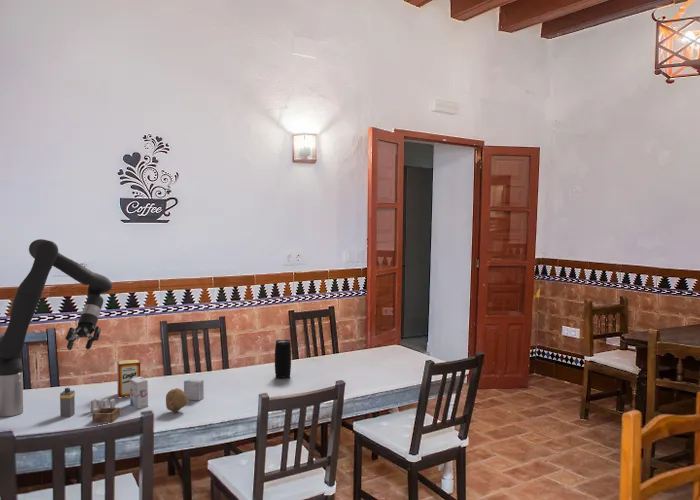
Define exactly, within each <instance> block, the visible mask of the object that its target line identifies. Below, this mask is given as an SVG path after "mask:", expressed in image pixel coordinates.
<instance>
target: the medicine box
mask: <svg viewBox="0 0 700 500" xmlns="http://www.w3.org/2000/svg"><path fill="white" fill-rule="evenodd" d="M204 384H205V383H204V379H198V378H197V379H196V378H195V379H194V378H187V379H185V380H184V381H183V391H184V393H185V394H186V396H187V398H188V401H201V400H203V399H204V398H205V396H204V395H205V393H204V392H205V391H204V390H205V389H204Z"/></svg>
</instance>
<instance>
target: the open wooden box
mask: <svg viewBox="0 0 700 500" xmlns="http://www.w3.org/2000/svg"><path fill="white" fill-rule="evenodd" d="M119 417H121V407H115V408H110V407H108V408H100V409H98V410H97V411H96V412H94V413H92V424H93V423H94V424H99V423H100V424H107V423H108V424H109V423H110V424H111V423H112V422H113V423H114V422H116V421H117V420H118V419H119ZM113 423H112V424H113Z"/></svg>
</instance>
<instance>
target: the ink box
mask: <svg viewBox="0 0 700 500" xmlns="http://www.w3.org/2000/svg"><path fill="white" fill-rule="evenodd" d="M148 386H149V385H148V379H146V378H144V377H142V376H140V377H136V378H131V379H130V397H129V399H130V400H129V404H130V405H131V406H132V407H135V408H136V409H142V408H146V407H149V389H148Z"/></svg>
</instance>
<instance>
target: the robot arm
mask: <svg viewBox="0 0 700 500" xmlns="http://www.w3.org/2000/svg"><path fill="white" fill-rule="evenodd" d="M28 252H29V255H30V256H31V257H32V258H33V259H34V260H33V263H32V266H31V269H30V271H29V273H27V275H26V277H25V278H24V279H23V280H22V281H21V283H20V284H19V286H18V288H17V290H16V292H15V295H14V297H13V301H12V304H11V309H10V315H9V316H10V317H9V321H8V325H7V328H6V330H5V332H4V333H3V335H1V337H0V417H2V418H4V417H5V418H6V417H7V418H8V417H14V416H17V415H20V414H22V413H24V377H23V376H24V375H23V373H24V370H23V368H24V367H23V359H22V352H23V349H24V345H25V340H26V336H27V333H28V329H29V326H30V324H31V322H32V321H33V320H32V319H33V317H34V315H35V313H36V311H37V308H38V305H39V302H40V300H41V297H42V294H43V292H44V289H45V285H46V283H47V279H48V277H49V274H50V273H51V270H52V268H53V267H54V268H56V269H57V270H59V271H60V272H63V273H64V274H65V275H67V276H68V277H70V278H72V279H73V280H74V281H76V282H78V283H80V284H82V285H84V286H88V287H87V297H86V298H87V299H86V301H85V304H84V307H83V309H82V310H81V313H80V316H79V319H78V322H77V326H76V327H75V328H73V327H71V326H70V327H69V329H68V331H67V334H66V336H65V338H64V339H65V340H66V341H67V344H66V349H67V350H69V351H71V350H72V349H73V346H74V344H75V342H76V341H77V340H79V339H80V338H81V339H82V338H88V339H87V342H86V344H85V349H86V350H90V349H91V348H92V345H93V343H94V342H96V341H98V340H99V338H100V334H101V331H102V329H101V328H100V327H99V326H98V325H97V324H98V321H99V318H100V316H101V312H102V311H101V310H102V308H103V304H104V298H103V297H102V296H101V295H102V294H105V293H108V292H110V291H111V290H112V288H113V283H112V281H111V280H110V279H109V278H108V277H107V276H105V275H102V274H99V273H97V272H93V271H92V270H90V269H88V268H87V267H85V266H84V265H82V264H80V263H78V262H77V261H74V260H73V259H71V258H69V257H67V256H65V255H63V253H60V252H59V247H58V245H57V243H55V242H54V241H52V240H48V239H43V238H42V239H36V240H33V241H32V242H31V243H30V244H29V246H28Z"/></svg>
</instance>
